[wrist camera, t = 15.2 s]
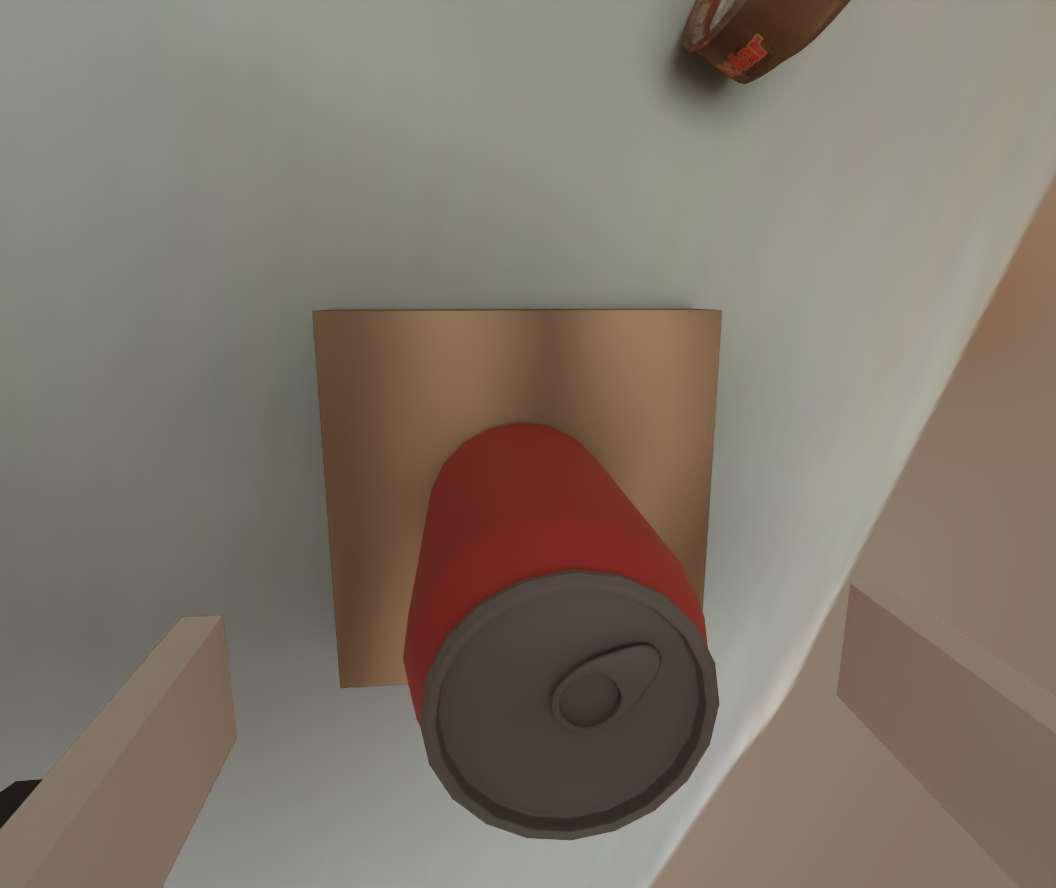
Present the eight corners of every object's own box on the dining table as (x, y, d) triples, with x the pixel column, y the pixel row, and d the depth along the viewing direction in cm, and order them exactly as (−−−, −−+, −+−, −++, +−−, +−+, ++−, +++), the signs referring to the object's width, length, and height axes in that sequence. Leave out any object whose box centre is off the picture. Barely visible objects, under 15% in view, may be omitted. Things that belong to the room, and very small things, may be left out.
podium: (353, 646, 27) (340, 688, 24) (331, 309, 24) (312, 311, 21) (674, 630, 28) (698, 667, 25) (692, 308, 25) (722, 310, 22)
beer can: (642, 522, 24) (811, 735, 12) (501, 624, 24) (535, 925, 13) (539, 382, 22) (619, 472, 11) (391, 493, 23) (311, 697, 11)
